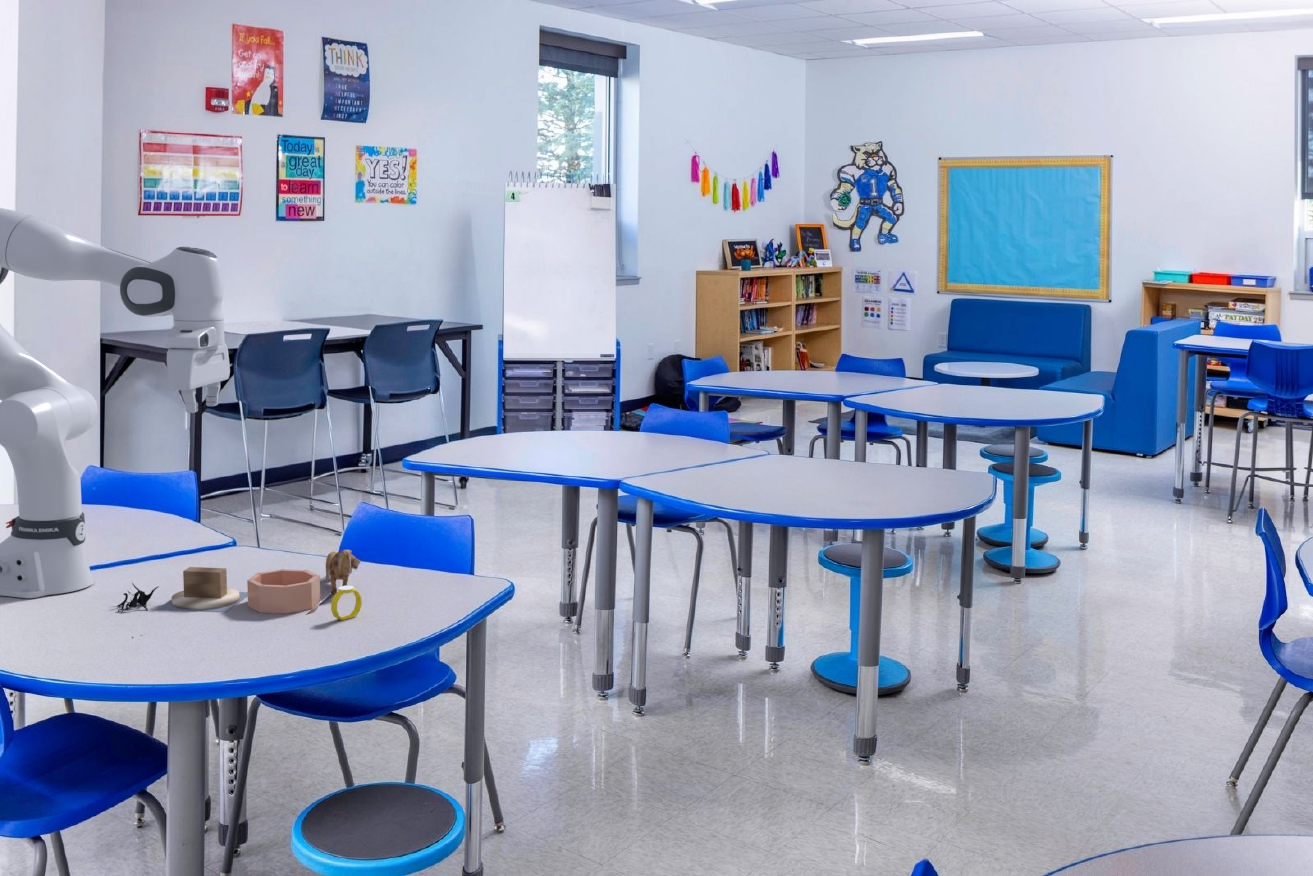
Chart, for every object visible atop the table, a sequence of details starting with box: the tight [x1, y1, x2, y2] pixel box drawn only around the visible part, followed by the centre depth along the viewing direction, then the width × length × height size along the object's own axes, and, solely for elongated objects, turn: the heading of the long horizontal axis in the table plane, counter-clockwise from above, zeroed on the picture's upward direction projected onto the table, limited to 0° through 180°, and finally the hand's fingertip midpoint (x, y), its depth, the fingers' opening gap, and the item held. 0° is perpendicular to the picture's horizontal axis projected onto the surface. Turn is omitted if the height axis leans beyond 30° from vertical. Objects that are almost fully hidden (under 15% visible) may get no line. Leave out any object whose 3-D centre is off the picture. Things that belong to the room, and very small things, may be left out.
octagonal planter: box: [246, 568, 321, 616], centre depth 232 cm, size 12×12×6 cm
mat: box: [156, 591, 248, 613], centre depth 233 cm, size 13×13×1 cm
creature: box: [116, 582, 159, 614], centre depth 227 cm, size 8×5×8 cm
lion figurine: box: [325, 549, 362, 595], centre depth 247 cm, size 15×5×9 cm, turn 34°
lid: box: [170, 566, 240, 610], centre depth 233 cm, size 12×12×6 cm
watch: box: [330, 585, 363, 621], centre depth 228 cm, size 6×3×6 cm, turn 142°
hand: (202, 409), depth 233 cm, fingers open, 8 cm apart
